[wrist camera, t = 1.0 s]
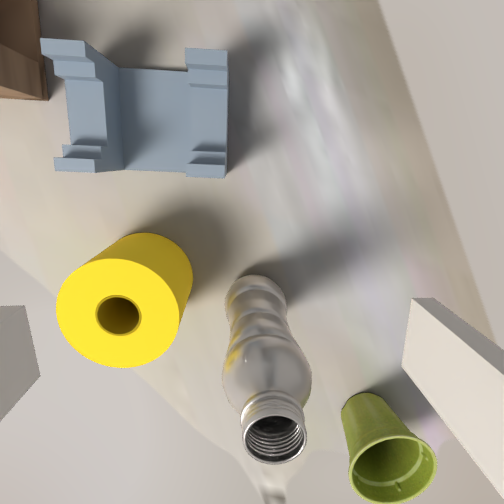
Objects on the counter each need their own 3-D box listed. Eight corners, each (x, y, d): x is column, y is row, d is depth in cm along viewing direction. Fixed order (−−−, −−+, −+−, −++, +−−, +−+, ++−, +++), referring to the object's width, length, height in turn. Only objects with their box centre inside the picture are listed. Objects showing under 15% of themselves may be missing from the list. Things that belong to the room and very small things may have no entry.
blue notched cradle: (89, 68, 30) (39, 37, 23) (229, 77, 31) (227, 50, 24) (97, 168, 33) (55, 170, 25) (226, 173, 34) (224, 178, 26)
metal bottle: (246, 257, 36) (259, 369, 17) (294, 289, 38) (356, 426, 18) (214, 302, 38) (192, 452, 18) (261, 331, 39) (287, 500, 20)
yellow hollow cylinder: (156, 214, 35) (128, 234, 26) (210, 288, 37) (202, 330, 28) (81, 264, 36) (29, 300, 27) (139, 332, 38) (109, 386, 29)
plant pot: (340, 449, 44) (365, 516, 36) (317, 396, 42) (337, 455, 34) (406, 425, 44) (446, 487, 36) (386, 370, 41) (425, 423, 33)
